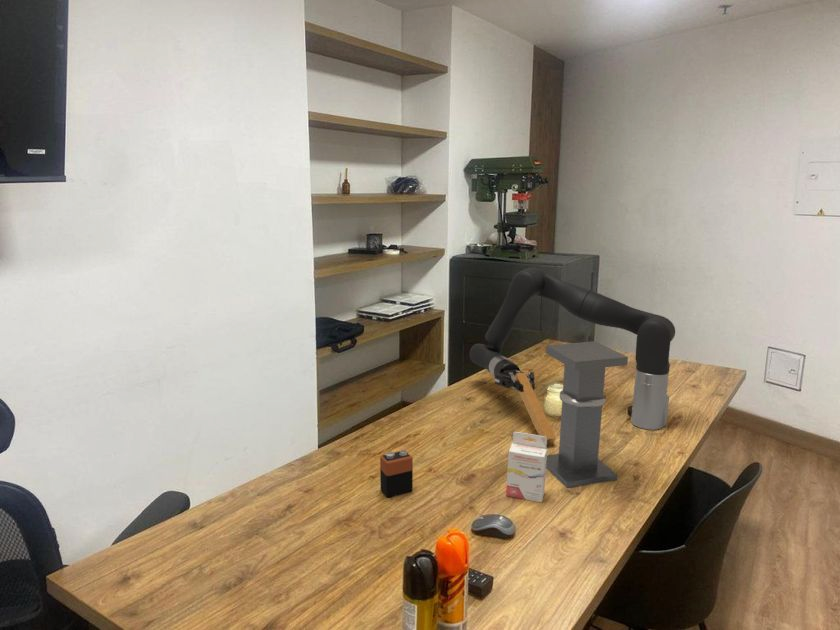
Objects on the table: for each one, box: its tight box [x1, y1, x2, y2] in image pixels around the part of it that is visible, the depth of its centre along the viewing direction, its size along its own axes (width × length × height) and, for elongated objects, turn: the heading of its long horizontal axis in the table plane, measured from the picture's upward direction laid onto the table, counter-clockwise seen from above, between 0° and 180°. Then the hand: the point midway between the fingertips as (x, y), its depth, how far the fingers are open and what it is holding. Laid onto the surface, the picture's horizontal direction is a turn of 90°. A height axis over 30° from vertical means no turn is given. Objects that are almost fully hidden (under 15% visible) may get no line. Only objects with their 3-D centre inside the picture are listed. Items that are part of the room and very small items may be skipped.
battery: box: [379, 449, 414, 498], centre depth 139 cm, size 4×7×10 cm, turn 117°
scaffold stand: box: [545, 341, 629, 489], centre depth 147 cm, size 14×14×32 cm
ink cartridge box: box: [505, 431, 548, 503], centre depth 137 cm, size 9×5×15 cm, turn 71°
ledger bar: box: [515, 372, 557, 446], centre depth 172 cm, size 3×24×3 cm
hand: (527, 388), depth 175 cm, fingers closed on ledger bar, 3 cm apart
